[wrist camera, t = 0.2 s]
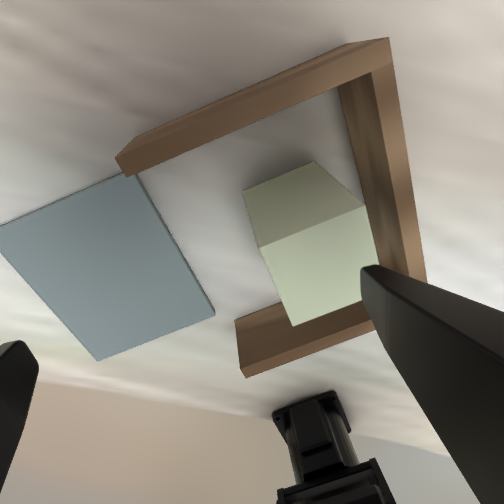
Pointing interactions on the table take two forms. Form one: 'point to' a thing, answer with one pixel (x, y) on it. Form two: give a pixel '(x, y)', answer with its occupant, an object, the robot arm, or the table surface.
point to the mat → (106, 267)
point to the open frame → (368, 165)
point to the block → (311, 240)
